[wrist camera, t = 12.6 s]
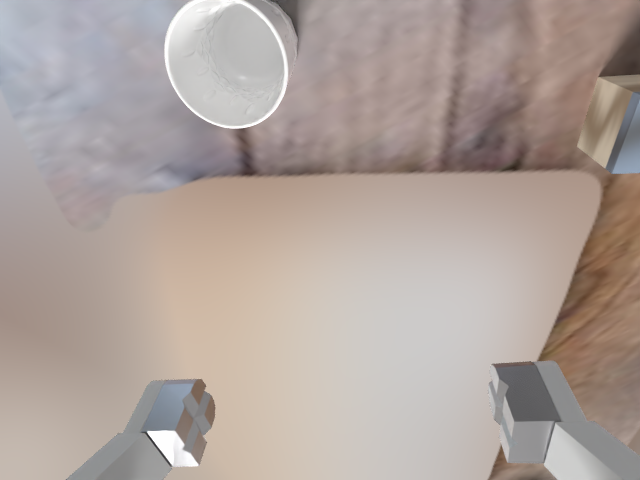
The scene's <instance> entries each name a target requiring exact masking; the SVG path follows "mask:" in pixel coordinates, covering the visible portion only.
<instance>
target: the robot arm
mask: <svg viewBox="0 0 640 480" xmlns="http://www.w3.org/2000/svg"><path fill="white" fill-rule="evenodd" d="M490 375H491V378H492V381H491V382H490V383H489V387H488V394H489V402H490V407H491V411H492V414H493V418H494V420H495V421H496V422H497V423H498V424H499V425H500V435H499V437H500V441H501V444H502V447H503V450H504V453H505V456H506V459H507V463H544V466H545V467H546V468H547V469H548V470H549V471H550V472H551V473H552V474H553V475H554V477H555V478H556V479H557V480H640V456H639V455H638V454H636V453H635V452H634V451H632V450H631V449H630V448H629V447H627V446H626V445H625V444H623V443H622V442H621V441H619V440H618V439H617V438H616V437H614V436H613V435H612V434H610V433H609V432H608V431H606V430H605V429H604V428H603V427H601V426H600V425H599V424H597V423H596V422H595V421H587V419H586V417H585V415H584V414H583V412H582V410H581V408H580V406H579V404H578V402H577V400H576V398H575V396H574V394H573V393H572V391H571V389H570V387H569V385H568V383H567V381H566V379H565V377H564V375H563V373H562V371H561V370H560V368H559V366H558V364H557V363H556V362H555V361H540V362H531V361H530V362H515V363H501V364H500V363H499V364H492V365H491V366H490ZM205 387H206V385H205V383H204V382H203V380H202V379H188V380H155V381H151V382H150V383H149V384H148V385H147V387H146V389H145V391H144V393H143V395H142V397H141V399H140V401H139V403H138V404H137V407H136V409H135V411H134V413H133V414H132V416H131V418H130V420H129V422H128V424H127V426H126V428H125V430H124V432H123V433H119V434H117V435H116V436H115V437H114V438H113V439H111V440H110V441H109V442H108V443H107V444H106V445H105V446H103V447H102V448H101V449H100V450H99V451H98V452H97V453H95V454H94V455H93V456H92V457H91V458H90V459H89V460H87V461H86V462H85V463H84V464H83V465H82V466H81V467H80V468H79V469H77V470H76V471H75V472H74V473H73V474H72V475H70V476H69V477H68V478H67V479H66V480H163V479H164V478H165V477H166V476H167V474H168V473H169V472H170V471H171V469H172V468H171V467H185V466H199V465H200V462H201V459H202V456H203V453H204V449H205V446H206V443H207V442H206V439H205V436H204V435H205V434H206V433H207V432H208V431H209V430H210V429H211V427H212V424H213V421H214V417H215V404H214V400H213V398H212V396H211V395H210V394H209V393H207V392H205V391H204V390H205Z"/></svg>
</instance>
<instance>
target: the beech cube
mask: <svg viewBox="0 0 640 480" xmlns="http://www.w3.org/2000/svg"><path fill="white" fill-rule="evenodd" d="M577 147H579V148H580V149H581V150H582V151H584V152H585V153H586V154H587V155H589V156H590V157H591V158H593V159H594V160H595V161H596V162H598V163H599V164H600V165H601V166H603V167H604V168H605V169H606V170H608V171H609V172H610V173H612V174H621V173H640V74H639V75H623V76H606V77H598V79H597V83H596V86H595V89H594V93H593V96H592V99H591V102H590V106H589V109H588V112H587V115H586V119H585V122H584V125H583V129H582V132H581V135H580V138H579V142H578V145H577Z"/></svg>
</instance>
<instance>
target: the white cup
mask: <svg viewBox="0 0 640 480" xmlns="http://www.w3.org/2000/svg"><path fill="white" fill-rule="evenodd" d="M297 44H298V37H297V35H296V32H295V29H294V26H293V23H292V21H291V18H290V17H289V16H288V15H287V14H286V13H285V12H284V11H283V10H282V9H281V8H280V6H279V5H278V4H277V3H274V2H272V1H269V0H191V1H189V2H188V3H186V4H185V5H184V6H183V7H182V8H181V9H180V10H179V11H178V12H177V13H176V14H175V16H174V17H173V19H172V21H171V23H170V25H169V27H168V30H167V34H166V38H165V46H164V55H165V64H166V69H167V72H168V75H169V78H170V81H171V83H172V85H173V87H174V89H175V91H176V92H177V94H178V95H179V97H180V98H181V100H182V101H183V102H184V103H185V104H186V105H187V107H188V108H189V109H191V110H192V111H193V112H194V113H195V114H197V115H198V116H199V117H201V118H202V119H204V120H206V121H208V122H210V123H212V124H215V125H218V126H221V127H226V128H245V127H249V126H253V125H255V124H258V123H260V122H262V121H263V120H265V119H266V118H267V117H269V116H270V115H271V114H272V113H273V112H274V111H275V109H276V108H277V107H278V105H279V104H280V102H281V100H282V98H283V96H284V93H285V91H286V88H287V86H288V84H289V81H290V79H291V76H292V73H293V69H294V66H295V62H296V59H297Z"/></svg>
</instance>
